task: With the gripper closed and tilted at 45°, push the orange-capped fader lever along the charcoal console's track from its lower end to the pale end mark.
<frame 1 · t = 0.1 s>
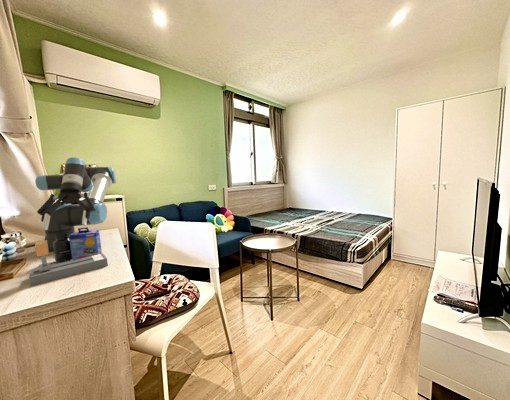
hand: (64, 226, 93), 15 cm above the table, tool tilted 35°, fingers open, 13 cm apart
fader: (43, 255, 78), point 8 cm above the table, slide at 0.0 cm
ink cartridge box: (87, 259, 97), on the table
fader console: (71, 271, 84), on the table
supplement bottle: (66, 260, 97), on the table
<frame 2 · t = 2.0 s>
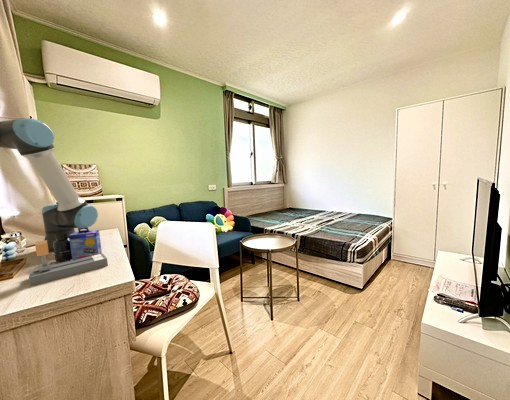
nothing on the table moved.
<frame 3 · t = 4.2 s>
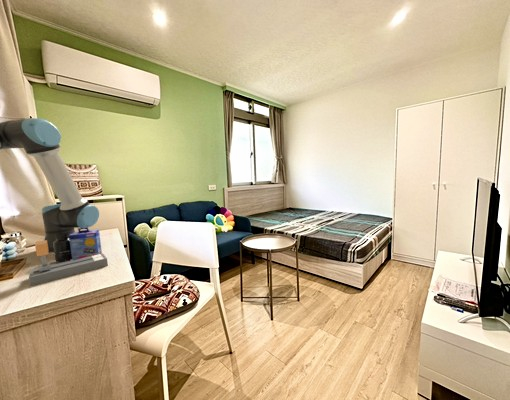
nothing on the table moved.
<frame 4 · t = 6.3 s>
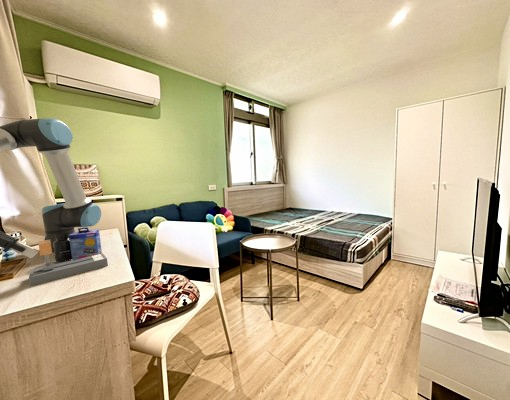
hand: (35, 254, 76), 9 cm above the table, tool tilted 45°, fingers closed
fader: (46, 255, 78), point 8 cm above the table, slide at 0.9 cm, touching gripper
everything else where it was.
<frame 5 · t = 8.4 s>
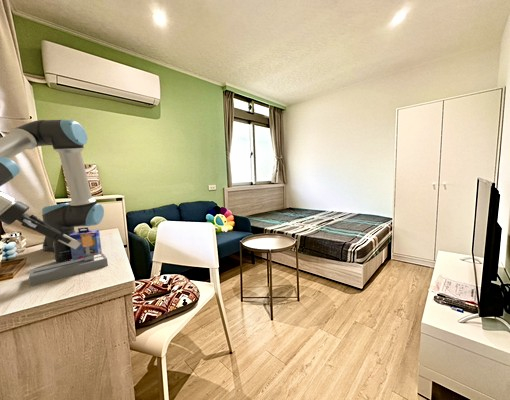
hand: (78, 246, 84), 9 cm above the table, tool tilted 45°, fingers closed
fader: (87, 246, 86), point 8 cm above the table, slide at 12.6 cm, touching gripper
everything else where it was.
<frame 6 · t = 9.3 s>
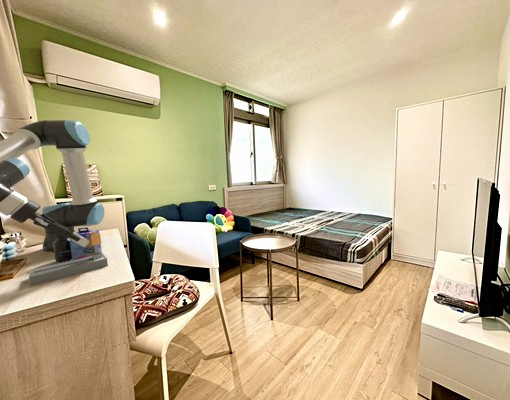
hand: (87, 243, 86), 10 cm above the table, tool tilted 45°, fingers closed
fader: (95, 245, 88), point 8 cm above the table, slide at 15.4 cm, touching gripper
everything else where it was.
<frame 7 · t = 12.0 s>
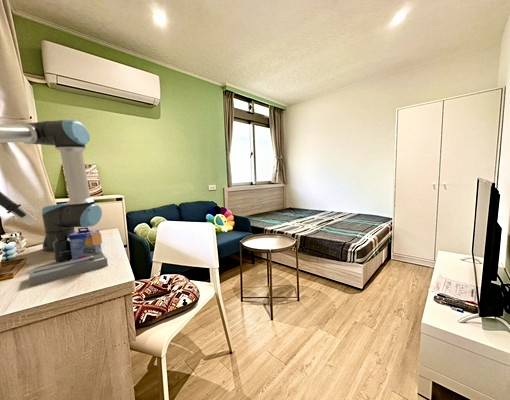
hand: (33, 222, 78), 20 cm above the table, tool tilted 35°, fingers closed
fader: (96, 244, 89), point 8 cm above the table, slide at 15.7 cm
everything else where it was.
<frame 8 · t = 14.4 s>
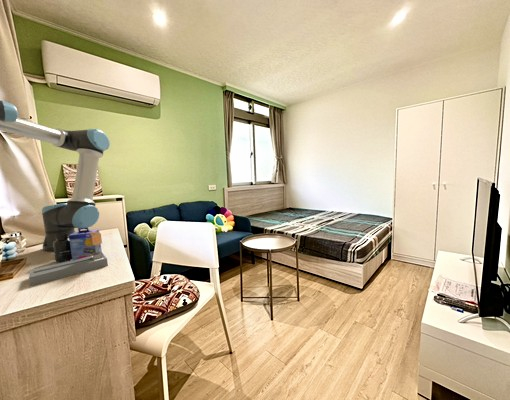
nothing on the table moved.
at the end: fader slide at 15.7 cm; ink cartridge box moved 0.3 cm from its start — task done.
